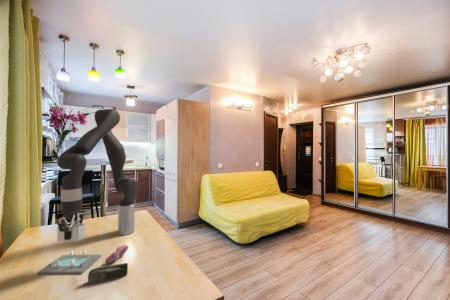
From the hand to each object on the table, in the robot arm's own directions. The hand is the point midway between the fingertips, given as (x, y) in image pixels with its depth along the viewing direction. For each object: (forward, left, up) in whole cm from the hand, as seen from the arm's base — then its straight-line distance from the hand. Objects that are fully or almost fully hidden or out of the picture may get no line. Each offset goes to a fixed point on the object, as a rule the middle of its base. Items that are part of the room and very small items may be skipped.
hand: (71, 237), depth 88 cm
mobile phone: (+10, +21, -13) cm, 26 cm away
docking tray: (0, 0, -12) cm, 12 cm away
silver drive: (0, 0, -1) cm, 1 cm away
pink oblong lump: (-5, +18, -13) cm, 22 cm away
